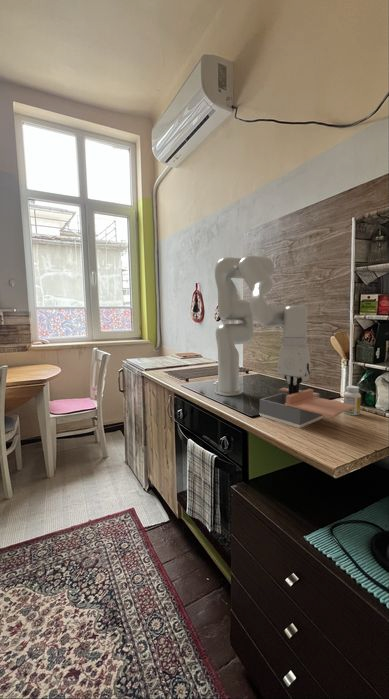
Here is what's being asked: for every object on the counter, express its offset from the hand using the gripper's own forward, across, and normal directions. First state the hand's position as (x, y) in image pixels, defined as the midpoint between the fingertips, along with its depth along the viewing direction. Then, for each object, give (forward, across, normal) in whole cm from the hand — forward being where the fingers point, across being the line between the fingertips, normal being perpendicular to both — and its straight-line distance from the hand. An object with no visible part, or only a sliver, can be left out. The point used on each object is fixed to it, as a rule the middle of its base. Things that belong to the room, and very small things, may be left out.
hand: (293, 395), depth 107 cm
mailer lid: (+2, +10, 0) cm, 10 cm away
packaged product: (+9, -10, +20) cm, 24 cm away
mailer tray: (+8, -1, 0) cm, 8 cm away
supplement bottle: (+8, +11, +20) cm, 24 cm away
